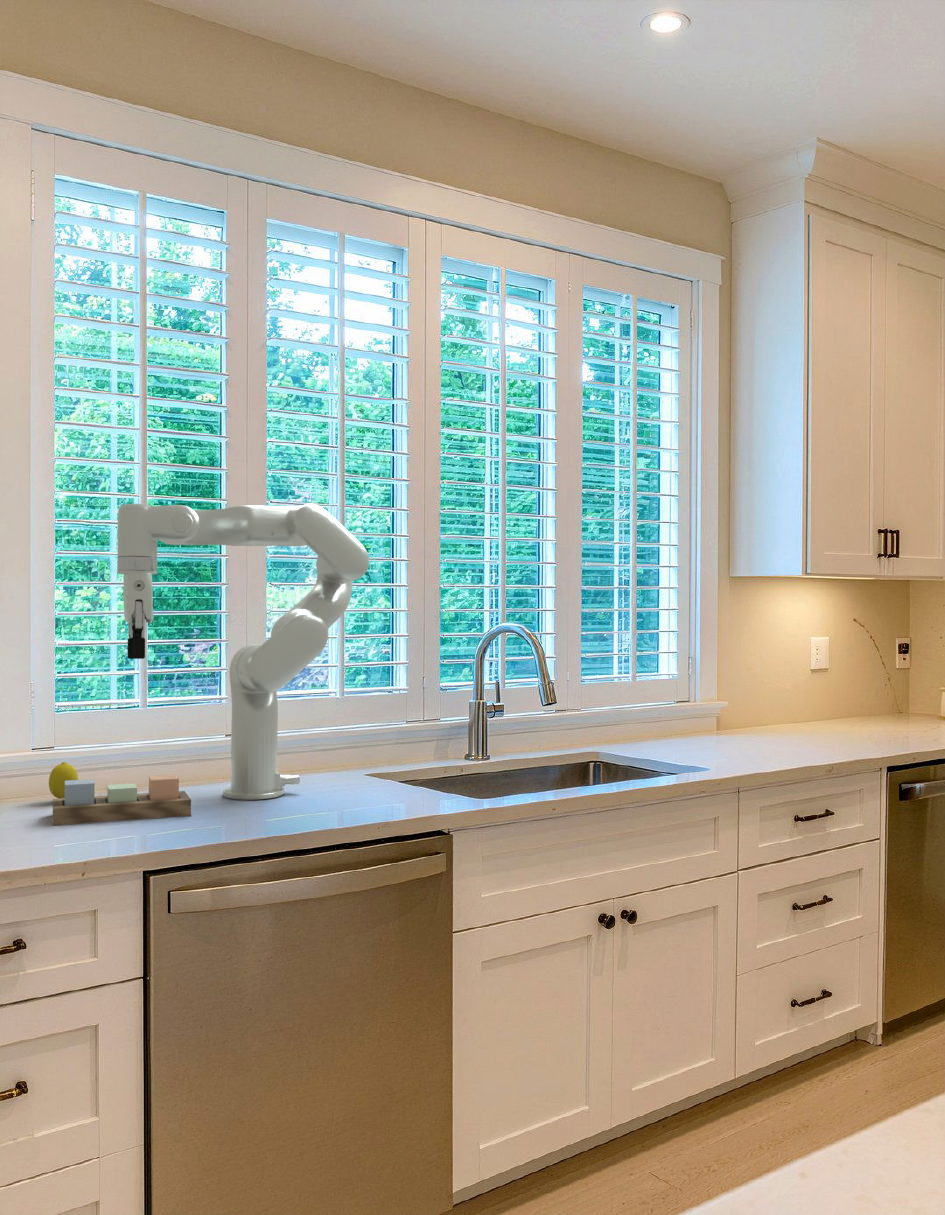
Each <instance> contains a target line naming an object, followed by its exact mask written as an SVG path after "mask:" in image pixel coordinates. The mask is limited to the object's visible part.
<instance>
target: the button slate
mask: <svg viewBox="0 0 945 1215" xmlns="http://www.w3.org/2000/svg"><path fill="white" fill-rule="evenodd" d="M94 796H95V780H94V778H92V779H91V778H89V779H78V780H67V781H65V806H69V805H85V804H94Z"/></svg>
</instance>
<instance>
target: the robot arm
mask: <svg viewBox="0 0 945 1215" xmlns="http://www.w3.org/2000/svg"><path fill="white" fill-rule="evenodd" d="M158 540H159V541H160V542H162V543H164V544H166V545H170V546H171V545H172V546H173V545H174V546H179V545H181V546H183V545H184V546H206V545H207V546H231V547H261V546H262V547H265V546H266V547H272V546H273V547H303V546H304V547H305V546H308V547H309V548H310V549H311V550H312V551H313V552H314V553H315V555H317V557H316V561H315V562H316V565H315V567H316V582H315V584H314V585H313V587H312V589H311V590H310V591H309V592H308V593H307V594H306V595H305V596H304V597H303V598H302V599H301V600H300V601H298V602H297V603H296V604H295V605H294V606H293V607H291V608H290V609H289V610H288V611H287V612H286V613H284V614H283V615H282V616H280V617H278V619H277V620H276V621H275V622H274V624H273V626H272V628H271V632H270V637H269V638H268V639H267V640H266V641H265V642H263V644H248V645H245V646H243V647H241V648H239V649H238V650H237V651H236V652H235V654H234V655H233V657H232V658H231V661H230V665H229V671H228V672H229V684H230V696H231V725H230V726H231V729H230V730H231V732H230V734H231V736H230V737H231V739H230V740H231V743H230V750H231V751H230V786H229V787H226V788H223V790H222V795H223V797H225V798H228V799H232V800H246V801H247V800H248V801H249V800H250V801H251V800H252V801H253V800H265V799H267V800H268V799H274V798H278V797H281V796H283V795H285V788H284V787H285V785H300V783H301V782H300V781H301V780H300V778H301V777H300V775H299V774H293V775H292V774H281V773H280V772H279V771H278V727H279V726H278V722H279V717H278V716H279V708H278V707H279V705H278V704H279V703H278V694H277V691H278V690H281V689H282V688H284V687H285V686H286V685H287V684H289V683H290V682H291V681H292V680H293V679H294V678H295V677H296V676H297V675H299V674H300V673H301V672H302V671H303V670H304V669H305V668H306V667H307V666H309V664H311V663H312V662H313V661H314V660H315V659H317V657H318V656H320V654H321V653H322V652H323V650H324V649H325V647H326V645H327V643H328V639H329V629H330V628H331V627H332V625H334V624H335V623H336V622H337V620H338V619H340V617H341V616H342V615H343V614H344V613H345V612H346V610H347V609H348V606H349V604H350V601H351V598H352V590H353V581H357V580H359V579H361V578H362V577H363V576H364V575H366V573H367V571H368V569H369V566H370V556H369V553H368V551H367V549H366V548H365V546H364V545H363V544H362V543H361V542H360V540H358V539H357V538H356V537H355V536H354V535H353V534H352V533H351V532H350V531H348V529H347V528H345V527H344V525H343V524H341V522H339V521H338V520H337V519H336V518H335V517H334V516H333V515H331V513H330V512H328V511H327V510H326V509H324V508H323V507H322V506H320V505H318V504H313V503H307V504H303V505H299V506H282V505H281V506H275V505H274V506H273V505H251V504H249V505H246V504H244V505H235V506H230V507H226V508H220V509H219V508H218V509H192V508H191V507H189V506H187V505H182V504H171V505H169V504H168V505H150V504H143V503H141V504H140V503H127V504H126V503H125V504H123V505H120V507H119V508H118V510H117V549H116V550H117V557H116V558H117V563H116V564H117V566H116V567H117V569H116V570H117V571H116V573H117V574H121V575H122V574H123V582H122V583H123V585H122V589H123V592H122V594H123V597H122V598H123V616H124V621H125V622H126V623H127V624H128V638H127V658H128V659H129V660H134V659H135V660H137V659H139V660H144V659H145V658H146V638H145V629H146V628H145V627H146V625H145V624H146V623H147V624H151V623H152V622H153V621H154V610H153V609H154V608H153V606H154V605H153V604H154V603H153V575H157V574H158Z"/></svg>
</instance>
